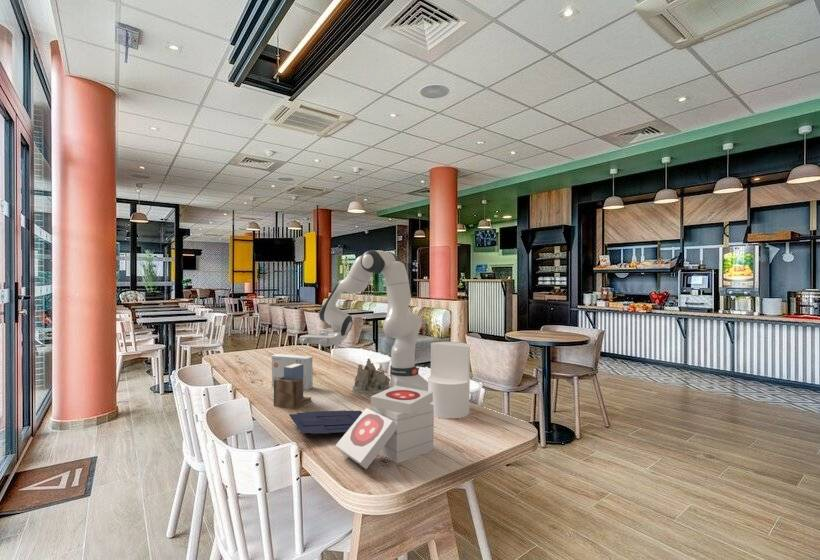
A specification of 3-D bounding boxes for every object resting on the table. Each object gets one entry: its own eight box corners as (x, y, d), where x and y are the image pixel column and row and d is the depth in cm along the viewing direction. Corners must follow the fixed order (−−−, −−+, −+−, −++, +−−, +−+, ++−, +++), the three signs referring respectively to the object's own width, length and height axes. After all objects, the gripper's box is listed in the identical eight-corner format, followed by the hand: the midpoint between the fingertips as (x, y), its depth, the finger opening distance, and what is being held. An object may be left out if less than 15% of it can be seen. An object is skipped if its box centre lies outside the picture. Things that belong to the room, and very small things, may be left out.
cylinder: (439, 402, 181) (439, 340, 181) (475, 409, 172) (476, 343, 172) (420, 414, 166) (420, 346, 166) (459, 422, 157) (459, 350, 157)
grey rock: (347, 389, 200) (350, 359, 200) (372, 384, 212) (374, 356, 212) (368, 398, 189) (371, 366, 189) (393, 392, 201) (395, 362, 201)
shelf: (311, 400, 183) (311, 375, 183) (294, 408, 172) (294, 381, 171) (290, 398, 187) (290, 373, 187) (273, 405, 175) (273, 379, 175)
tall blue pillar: (303, 397, 183) (303, 364, 182) (292, 402, 175) (292, 367, 175) (295, 396, 184) (295, 363, 184) (283, 401, 177) (283, 366, 177)
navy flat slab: (286, 419, 155) (287, 410, 156) (359, 417, 169) (360, 408, 170) (301, 443, 134) (302, 432, 134) (383, 437, 148) (384, 427, 148)
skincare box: (271, 386, 206) (271, 355, 206) (277, 383, 211) (277, 353, 211) (307, 390, 200) (307, 358, 200) (313, 387, 205) (313, 356, 205)
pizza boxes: (332, 455, 128) (332, 398, 127) (407, 432, 146) (407, 383, 146) (364, 479, 113) (365, 415, 113) (443, 451, 131) (443, 395, 131)
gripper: (308, 330, 208) (292, 334, 195) (343, 331, 201) (329, 335, 188) (309, 343, 208) (292, 347, 195) (344, 344, 201) (329, 349, 188)
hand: (310, 341), depth 191 cm, fingers open, 8 cm apart
